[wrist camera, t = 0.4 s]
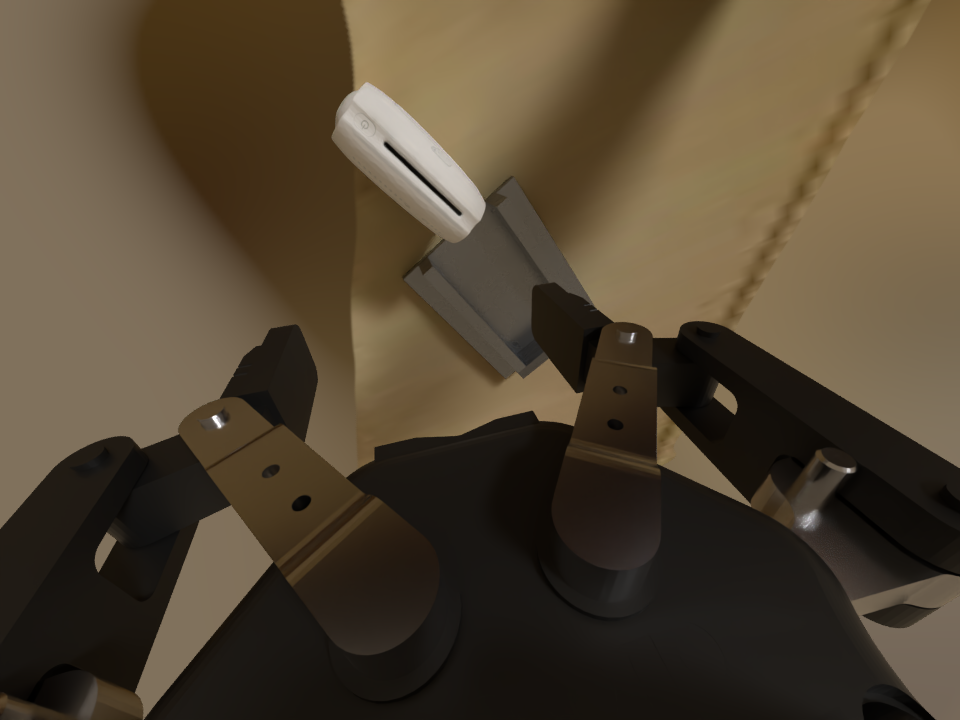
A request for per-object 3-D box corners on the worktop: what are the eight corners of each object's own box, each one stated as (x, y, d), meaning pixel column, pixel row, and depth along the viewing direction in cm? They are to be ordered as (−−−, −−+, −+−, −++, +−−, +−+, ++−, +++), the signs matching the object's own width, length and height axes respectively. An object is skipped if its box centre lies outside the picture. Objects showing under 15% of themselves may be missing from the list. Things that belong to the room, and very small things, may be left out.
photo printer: (332, 136, 27) (312, 136, 17) (363, 87, 26) (362, 57, 16) (433, 225, 33) (463, 263, 23) (462, 187, 32) (507, 210, 22)
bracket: (510, 176, 32) (526, 180, 29) (591, 303, 43) (608, 316, 39) (402, 276, 35) (406, 290, 32) (503, 375, 45) (513, 392, 42)
